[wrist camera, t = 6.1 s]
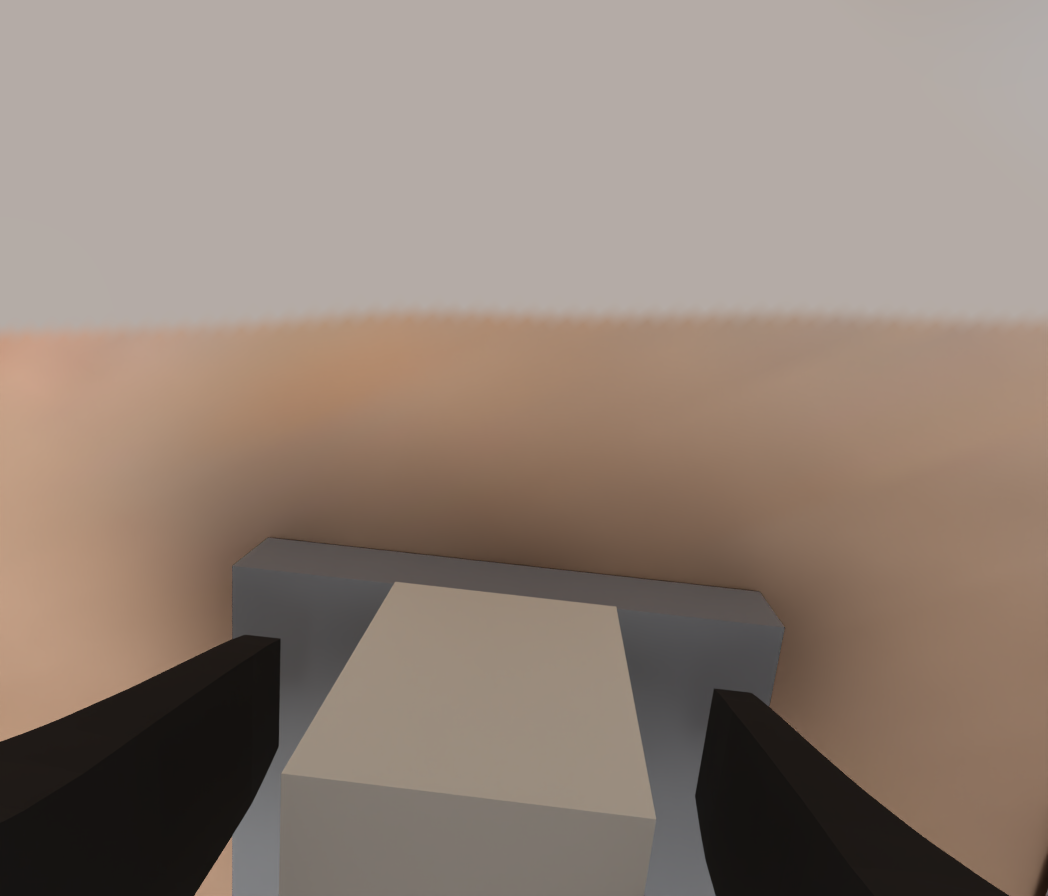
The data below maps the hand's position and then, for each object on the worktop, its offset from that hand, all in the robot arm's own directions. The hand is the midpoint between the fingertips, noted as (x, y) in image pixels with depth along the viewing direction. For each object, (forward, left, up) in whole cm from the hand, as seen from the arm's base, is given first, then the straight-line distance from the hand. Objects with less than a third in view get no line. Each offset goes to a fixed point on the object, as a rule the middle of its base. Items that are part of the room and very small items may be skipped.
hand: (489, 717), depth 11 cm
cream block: (0, +4, -1) cm, 4 cm away
